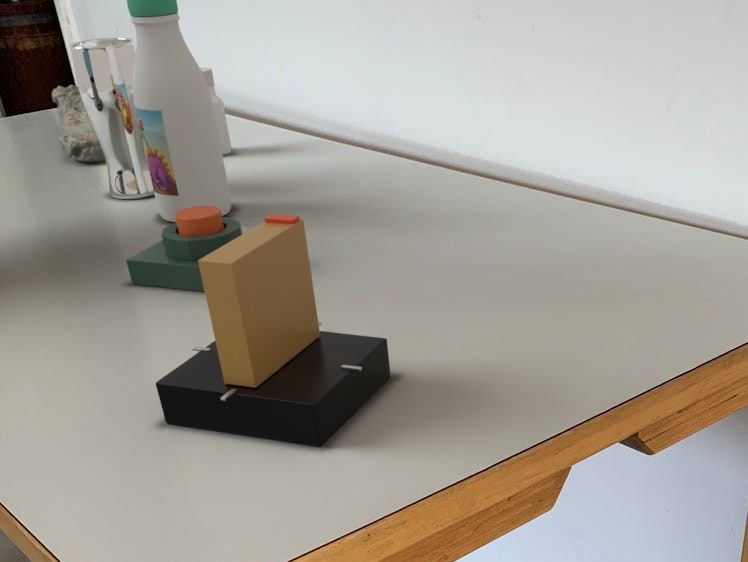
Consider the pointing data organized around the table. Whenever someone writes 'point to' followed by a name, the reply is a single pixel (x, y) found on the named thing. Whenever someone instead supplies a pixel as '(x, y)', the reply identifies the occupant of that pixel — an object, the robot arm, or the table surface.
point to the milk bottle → (175, 114)
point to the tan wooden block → (261, 299)
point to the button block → (179, 257)
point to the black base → (280, 391)
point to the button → (199, 221)
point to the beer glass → (113, 111)
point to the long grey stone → (76, 126)
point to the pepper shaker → (218, 112)
